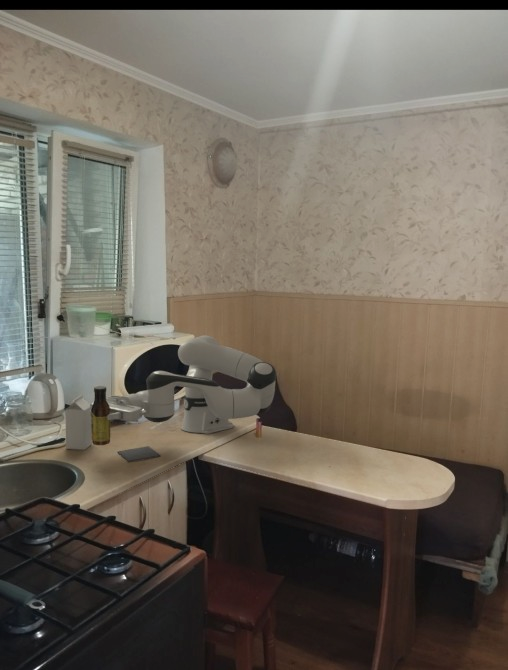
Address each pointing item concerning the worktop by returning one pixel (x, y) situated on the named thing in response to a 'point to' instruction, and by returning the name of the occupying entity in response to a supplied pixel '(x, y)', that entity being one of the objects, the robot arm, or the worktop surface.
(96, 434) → the sauce bottle
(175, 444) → the worktop surface
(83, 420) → the milk carton
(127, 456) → the mat
